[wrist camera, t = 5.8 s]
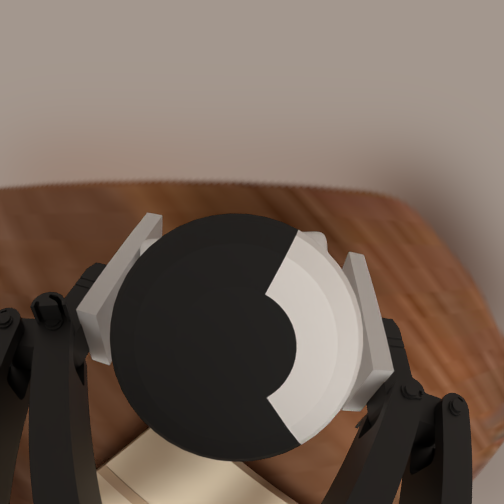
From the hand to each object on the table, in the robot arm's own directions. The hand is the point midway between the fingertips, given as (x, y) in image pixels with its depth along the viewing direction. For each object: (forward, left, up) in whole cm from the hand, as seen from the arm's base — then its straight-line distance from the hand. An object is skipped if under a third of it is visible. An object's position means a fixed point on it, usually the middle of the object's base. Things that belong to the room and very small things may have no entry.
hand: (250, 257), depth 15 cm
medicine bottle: (+2, -3, -4) cm, 5 cm away
